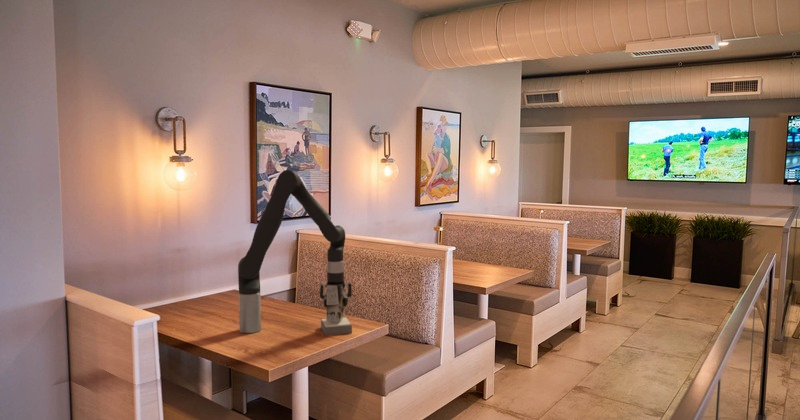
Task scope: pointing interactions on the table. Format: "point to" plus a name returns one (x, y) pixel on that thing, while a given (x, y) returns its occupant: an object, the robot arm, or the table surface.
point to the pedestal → (336, 327)
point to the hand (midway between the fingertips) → (335, 306)
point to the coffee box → (335, 302)
